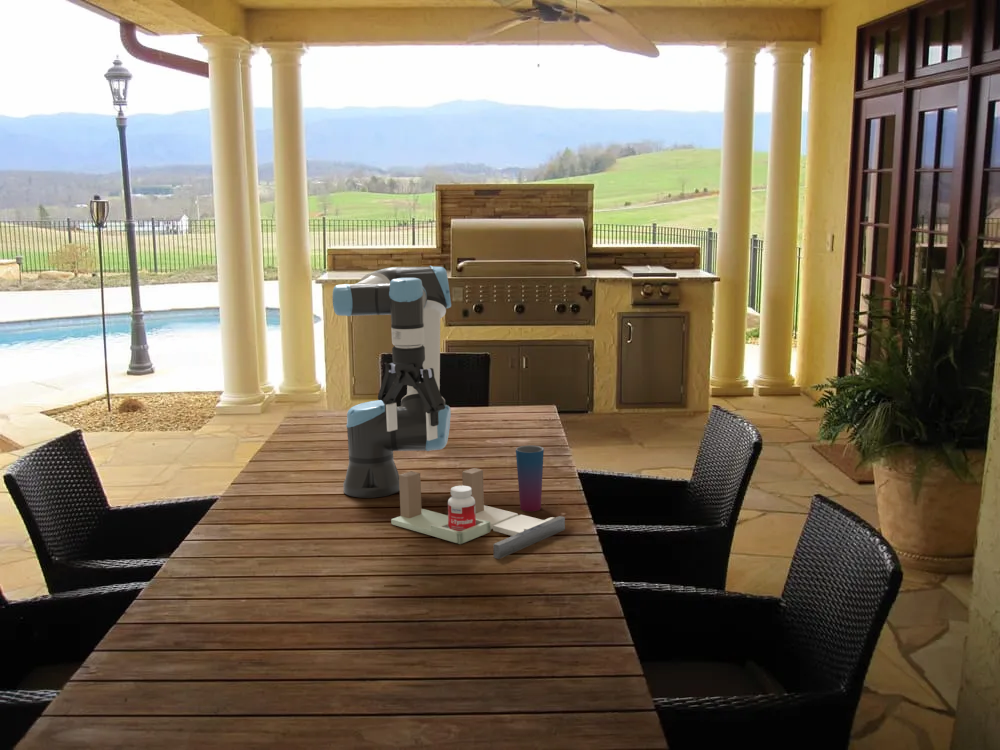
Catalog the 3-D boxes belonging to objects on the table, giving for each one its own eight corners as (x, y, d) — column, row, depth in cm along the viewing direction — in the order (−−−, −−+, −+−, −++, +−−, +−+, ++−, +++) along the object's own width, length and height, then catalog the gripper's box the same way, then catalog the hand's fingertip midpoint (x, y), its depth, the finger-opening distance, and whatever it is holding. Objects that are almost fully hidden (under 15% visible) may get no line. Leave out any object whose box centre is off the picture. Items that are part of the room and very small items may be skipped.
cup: (542, 513, 227) (541, 452, 225) (514, 512, 229) (513, 451, 226) (546, 504, 234) (545, 445, 231) (519, 503, 235) (518, 444, 233)
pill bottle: (448, 540, 210) (446, 492, 208) (449, 531, 216) (447, 484, 214) (476, 539, 210) (474, 491, 208) (476, 530, 216) (474, 484, 214)
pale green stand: (391, 524, 221) (389, 477, 219) (421, 513, 228) (420, 468, 226) (460, 544, 207) (458, 494, 205) (490, 531, 214) (489, 484, 212)
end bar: (493, 557, 199) (493, 543, 199) (559, 528, 216) (559, 515, 216) (499, 559, 198) (498, 545, 198) (564, 529, 215) (564, 517, 215)
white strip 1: (454, 520, 223) (453, 474, 221) (483, 509, 230) (481, 465, 228) (490, 529, 216) (488, 482, 214) (517, 518, 223) (517, 472, 221)
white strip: (493, 530, 215) (493, 520, 215) (521, 519, 222) (521, 509, 222) (527, 539, 209) (527, 529, 208) (555, 527, 216) (554, 517, 216)
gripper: (360, 342, 223) (364, 429, 228) (434, 353, 207) (438, 446, 211) (384, 338, 229) (388, 423, 233) (458, 348, 213) (461, 439, 217)
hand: (411, 434), depth 222 cm, fingers open, 13 cm apart
